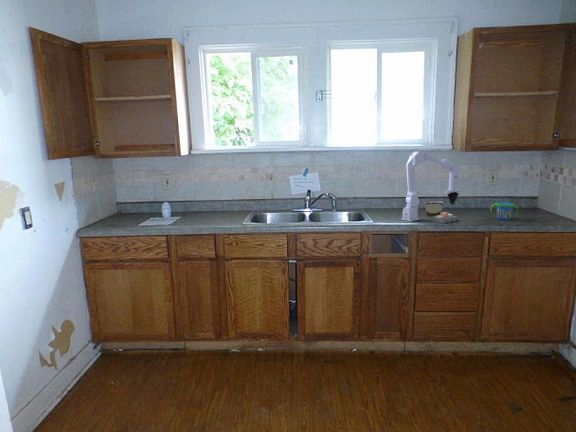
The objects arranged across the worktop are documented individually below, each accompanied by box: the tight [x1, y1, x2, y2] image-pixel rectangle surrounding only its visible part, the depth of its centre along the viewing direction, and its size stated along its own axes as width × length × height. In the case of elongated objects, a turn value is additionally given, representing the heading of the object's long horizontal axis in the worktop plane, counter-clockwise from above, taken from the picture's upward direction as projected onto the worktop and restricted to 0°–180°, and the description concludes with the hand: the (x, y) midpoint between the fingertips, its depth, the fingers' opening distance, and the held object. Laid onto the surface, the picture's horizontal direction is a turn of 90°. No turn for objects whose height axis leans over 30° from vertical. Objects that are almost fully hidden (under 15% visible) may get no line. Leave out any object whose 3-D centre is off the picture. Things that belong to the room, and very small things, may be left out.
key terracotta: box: [440, 211, 450, 218], centre depth 247 cm, size 3×3×4 cm
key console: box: [430, 215, 459, 224], centre depth 247 cm, size 15×9×2 cm, turn 123°
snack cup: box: [490, 202, 519, 221], centre depth 249 cm, size 16×10×10 cm
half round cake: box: [424, 200, 444, 218], centre depth 263 cm, size 12×6×10 cm, turn 84°
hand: (452, 204), depth 251 cm, fingers closed
